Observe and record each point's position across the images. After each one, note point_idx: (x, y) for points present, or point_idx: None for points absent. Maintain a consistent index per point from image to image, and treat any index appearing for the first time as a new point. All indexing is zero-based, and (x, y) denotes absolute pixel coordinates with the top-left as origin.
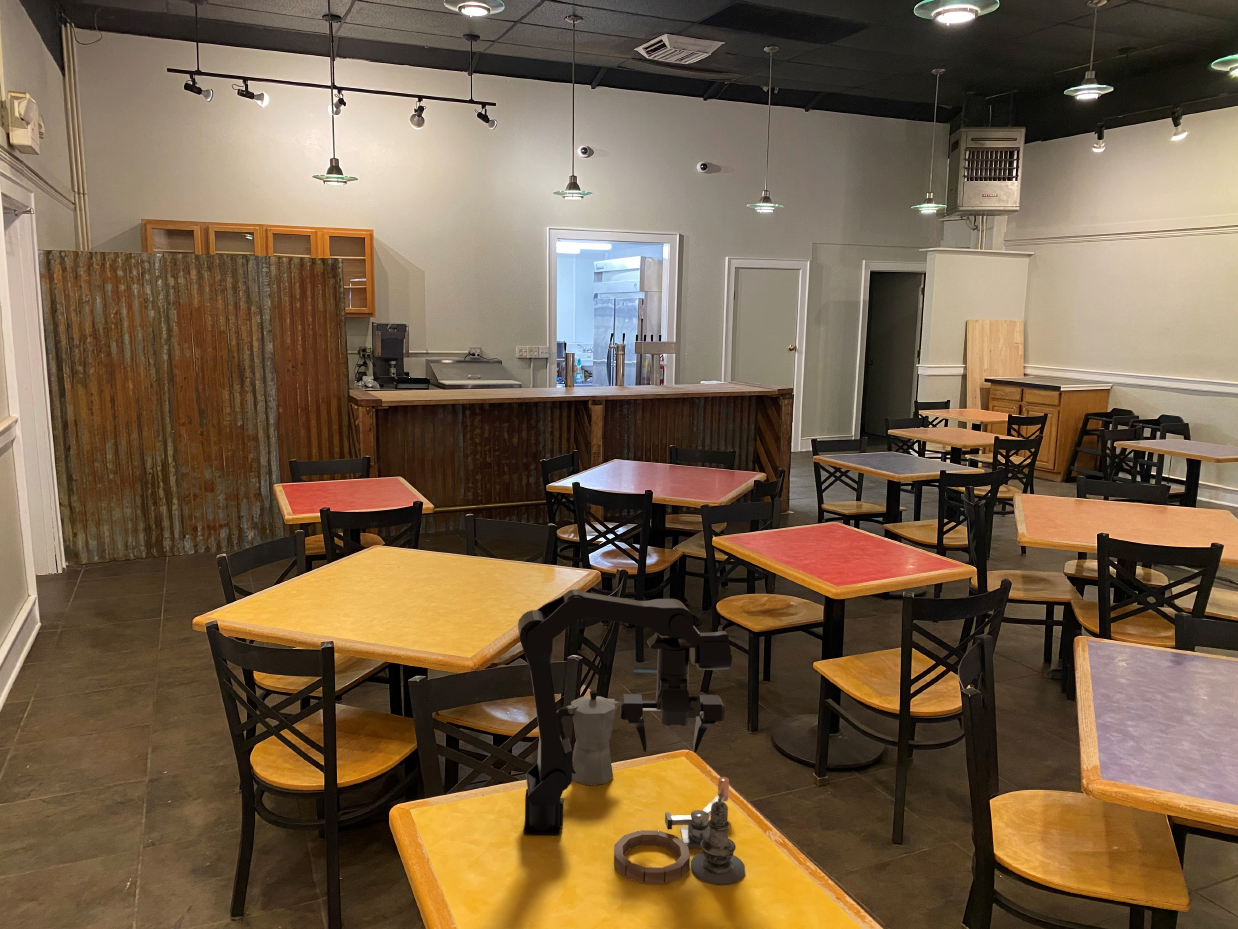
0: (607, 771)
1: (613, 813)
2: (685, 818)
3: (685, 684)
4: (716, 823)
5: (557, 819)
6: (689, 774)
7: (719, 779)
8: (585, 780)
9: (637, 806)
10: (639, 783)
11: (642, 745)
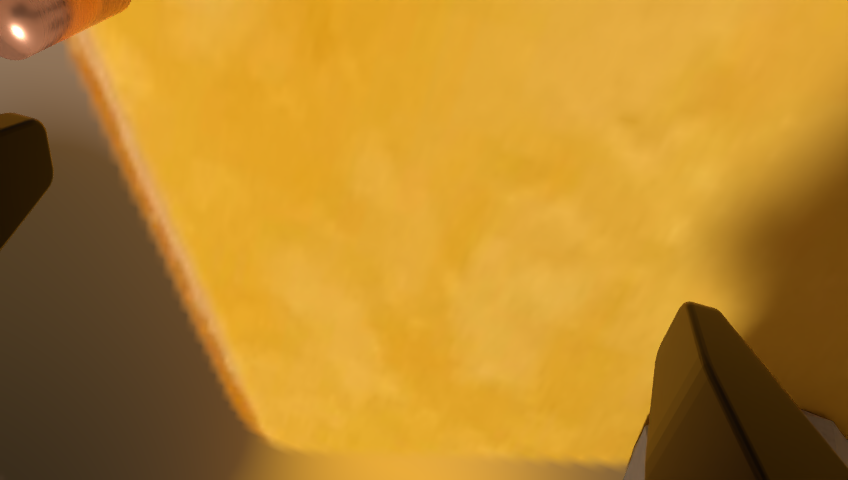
0: None
1: (821, 125)
2: None
3: None
4: None
5: None
6: (274, 345)
7: (28, 24)
8: (830, 437)
9: (629, 161)
10: (529, 351)
11: (777, 386)
